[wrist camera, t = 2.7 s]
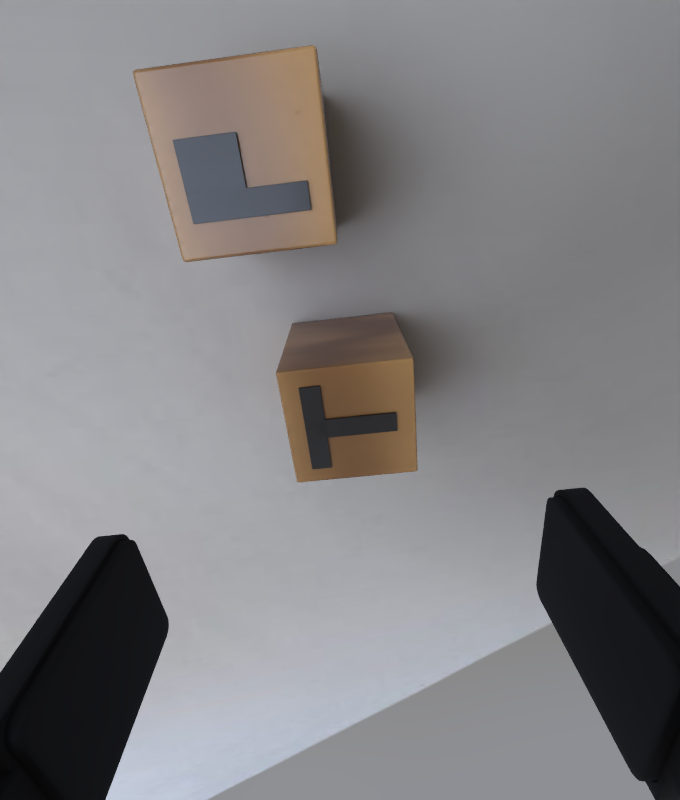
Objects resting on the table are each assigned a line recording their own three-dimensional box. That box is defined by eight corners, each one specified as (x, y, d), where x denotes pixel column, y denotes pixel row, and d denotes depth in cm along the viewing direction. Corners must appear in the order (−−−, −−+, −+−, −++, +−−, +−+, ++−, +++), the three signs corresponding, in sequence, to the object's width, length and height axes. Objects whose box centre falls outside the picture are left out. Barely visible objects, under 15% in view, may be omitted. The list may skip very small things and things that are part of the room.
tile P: (322, 92, 15) (315, 41, 10) (336, 228, 17) (337, 245, 12) (198, 109, 15) (128, 68, 10) (227, 241, 17) (181, 263, 12)
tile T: (392, 312, 18) (414, 358, 13) (397, 402, 20) (418, 473, 15) (292, 323, 18) (275, 373, 13) (306, 411, 20) (296, 484, 15)
